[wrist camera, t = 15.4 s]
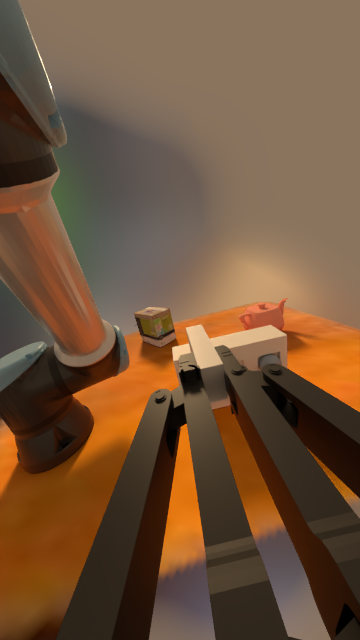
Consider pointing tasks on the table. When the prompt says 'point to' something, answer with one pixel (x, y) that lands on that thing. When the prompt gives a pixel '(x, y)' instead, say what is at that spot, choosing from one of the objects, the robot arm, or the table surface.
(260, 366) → the dark grey button
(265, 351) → the button panel
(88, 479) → the table surface
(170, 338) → the tea box
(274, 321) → the teapot
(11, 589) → the table surface
